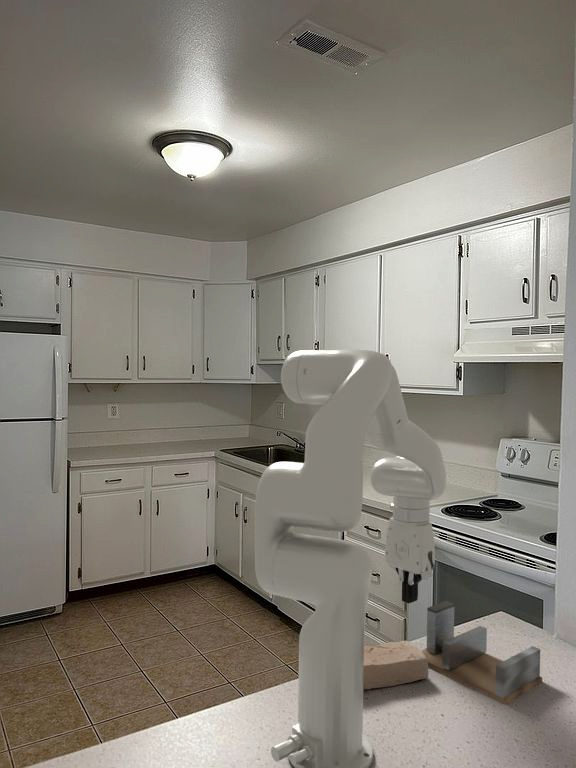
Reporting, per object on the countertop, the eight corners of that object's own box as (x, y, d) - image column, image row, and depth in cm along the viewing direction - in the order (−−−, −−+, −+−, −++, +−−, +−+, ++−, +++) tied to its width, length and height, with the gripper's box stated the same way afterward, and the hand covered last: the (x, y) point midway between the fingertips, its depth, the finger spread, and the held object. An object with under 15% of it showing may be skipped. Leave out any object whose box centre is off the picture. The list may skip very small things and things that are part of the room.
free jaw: (448, 670, 110) (449, 624, 110) (416, 654, 116) (417, 611, 115) (486, 652, 117) (487, 609, 117) (454, 638, 123) (455, 597, 123)
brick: (408, 660, 116) (408, 635, 116) (430, 680, 108) (430, 654, 108) (328, 672, 111) (328, 647, 111) (346, 695, 103) (346, 668, 103)
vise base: (505, 705, 101) (506, 669, 101) (412, 659, 116) (413, 629, 116) (542, 682, 108) (542, 650, 108) (450, 642, 124) (450, 614, 124)
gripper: (372, 509, 128) (371, 594, 128) (428, 524, 116) (427, 617, 117) (395, 504, 133) (394, 586, 133) (452, 518, 121) (450, 608, 121)
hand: (409, 600), depth 125 cm, fingers closed
